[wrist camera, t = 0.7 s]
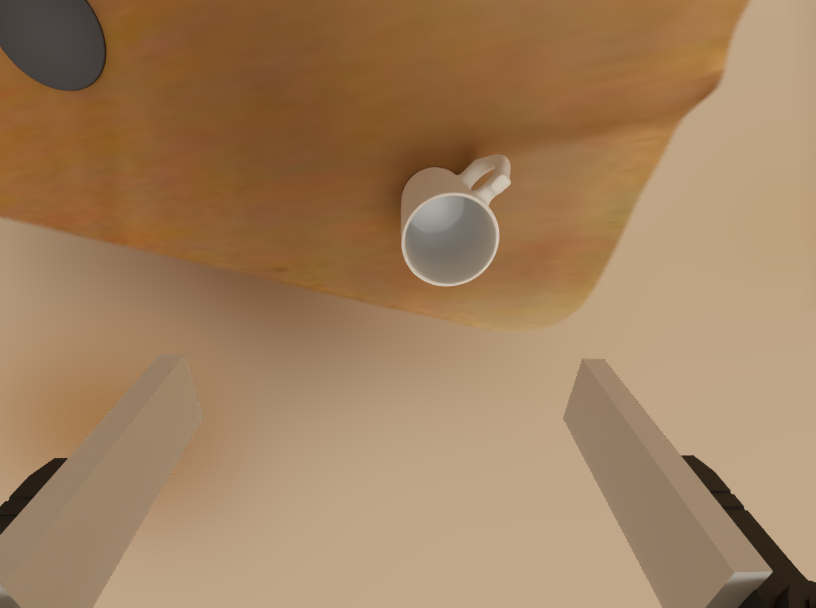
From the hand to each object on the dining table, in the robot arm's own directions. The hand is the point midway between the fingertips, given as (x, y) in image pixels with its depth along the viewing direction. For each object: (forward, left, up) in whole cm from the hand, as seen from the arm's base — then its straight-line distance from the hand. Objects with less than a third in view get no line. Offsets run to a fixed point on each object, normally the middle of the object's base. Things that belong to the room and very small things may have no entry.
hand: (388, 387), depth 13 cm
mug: (-1, +5, -27) cm, 28 cm away
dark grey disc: (-11, -27, -27) cm, 40 cm away
